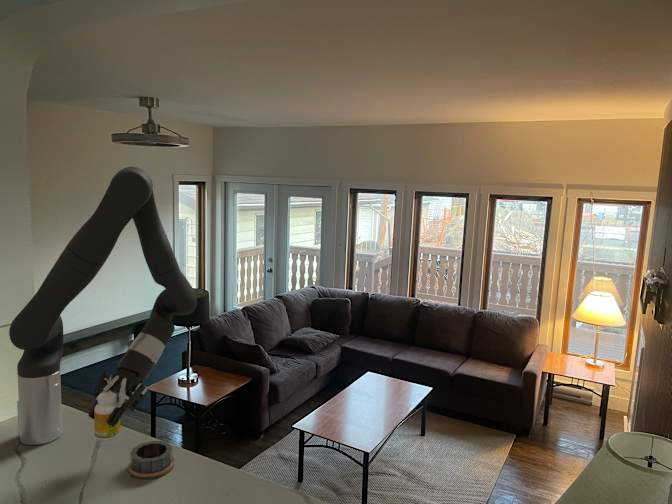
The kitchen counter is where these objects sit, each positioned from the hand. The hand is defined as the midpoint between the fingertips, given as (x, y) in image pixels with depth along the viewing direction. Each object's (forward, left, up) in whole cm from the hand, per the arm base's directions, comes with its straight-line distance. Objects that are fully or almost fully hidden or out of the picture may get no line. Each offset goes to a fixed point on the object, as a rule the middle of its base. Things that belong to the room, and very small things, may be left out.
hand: (100, 421), depth 115 cm
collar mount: (+10, +6, -11) cm, 16 cm away
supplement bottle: (0, +2, -5) cm, 5 cm away
